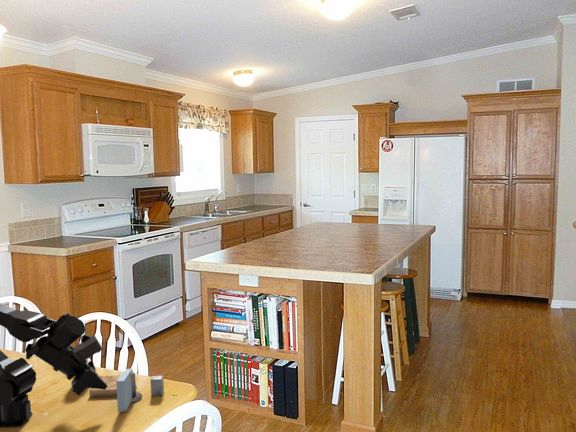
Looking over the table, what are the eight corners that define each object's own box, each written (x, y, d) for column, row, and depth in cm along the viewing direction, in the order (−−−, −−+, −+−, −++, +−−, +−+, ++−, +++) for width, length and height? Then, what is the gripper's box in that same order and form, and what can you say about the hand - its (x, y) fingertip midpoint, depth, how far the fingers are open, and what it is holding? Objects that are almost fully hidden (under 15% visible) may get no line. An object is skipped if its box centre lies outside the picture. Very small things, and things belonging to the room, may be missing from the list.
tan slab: (83, 405, 137) (81, 380, 136) (100, 382, 152) (99, 360, 151) (139, 403, 138) (137, 378, 137) (150, 380, 152) (149, 358, 152)
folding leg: (127, 395, 141) (125, 367, 140) (134, 395, 141) (133, 366, 140) (117, 411, 131) (116, 381, 131) (125, 411, 131) (124, 380, 131)
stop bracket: (151, 396, 141) (150, 379, 141) (153, 392, 144) (152, 376, 143) (161, 396, 141) (161, 379, 141) (163, 392, 144) (163, 375, 143)
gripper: (84, 339, 120) (134, 374, 126) (77, 319, 137) (121, 351, 143) (50, 378, 117) (103, 411, 123) (47, 353, 134) (93, 384, 140)
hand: (106, 387), depth 133 cm, fingers closed
